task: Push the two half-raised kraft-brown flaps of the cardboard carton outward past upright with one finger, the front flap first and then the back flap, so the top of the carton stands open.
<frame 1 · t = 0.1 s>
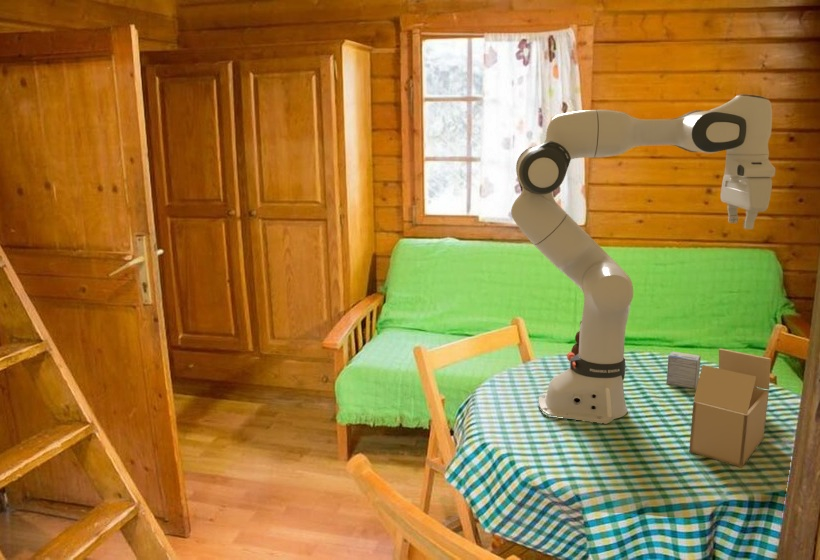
hand: (740, 225, 154), 48 cm above the table, tool pointing down, fingers open, 8 cm apart
back flap: (743, 368, 150), point 16 cm above the table, hinge at 75.0°
front flap: (724, 388, 140), point 16 cm above the table, hinge at 60.0°
medicine box: (682, 385, 183), on the table
carton: (726, 445, 148), on the table
food container: (739, 413, 165), on the table
wooden figurine: (582, 367, 198), on the table
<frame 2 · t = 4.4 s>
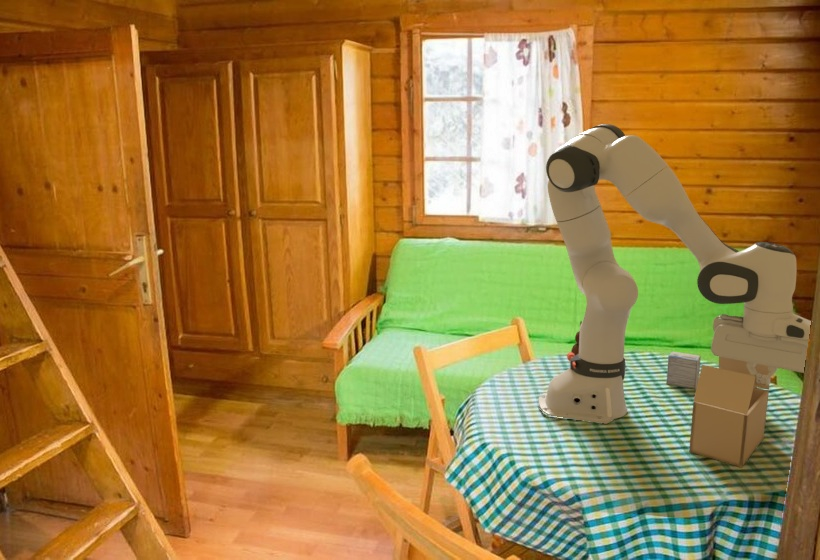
hand: (760, 383, 137), 18 cm above the table, tool pointing down, fingers closed
front flap: (724, 388, 140), point 16 cm above the table, hinge at 61.6°, touching gripper
everything else where it was.
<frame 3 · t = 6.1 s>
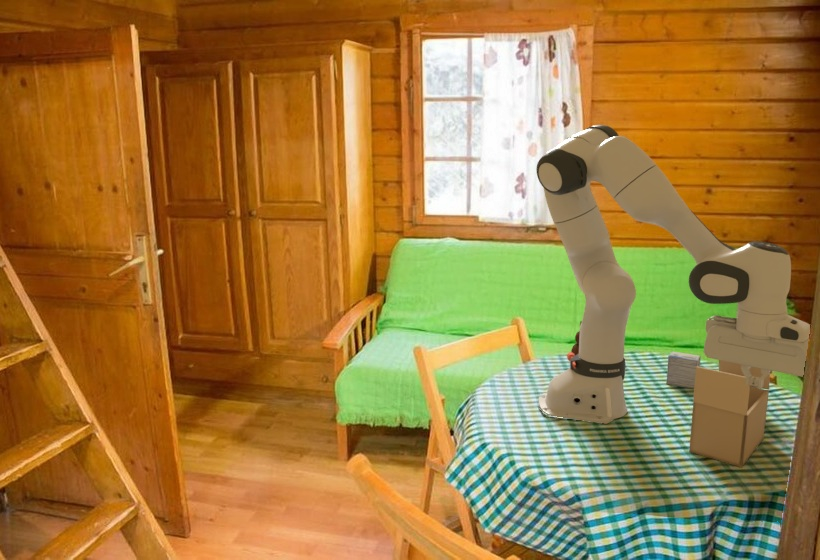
hand: (754, 386, 134), 19 cm above the table, tool pointing down, fingers closed
front flap: (721, 390, 138), point 16 cm above the table, hinge at 90.5°, touching gripper
everything else where it was.
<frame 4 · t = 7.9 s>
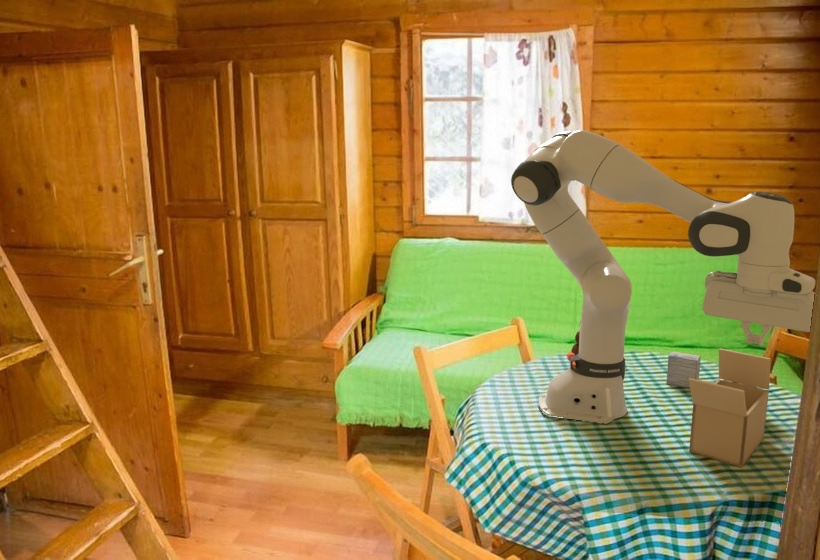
hand: (754, 343, 129), 29 cm above the table, tool pointing down, fingers closed
front flap: (717, 397, 137), point 16 cm above the table, hinge at 121.6°
everything else where it was.
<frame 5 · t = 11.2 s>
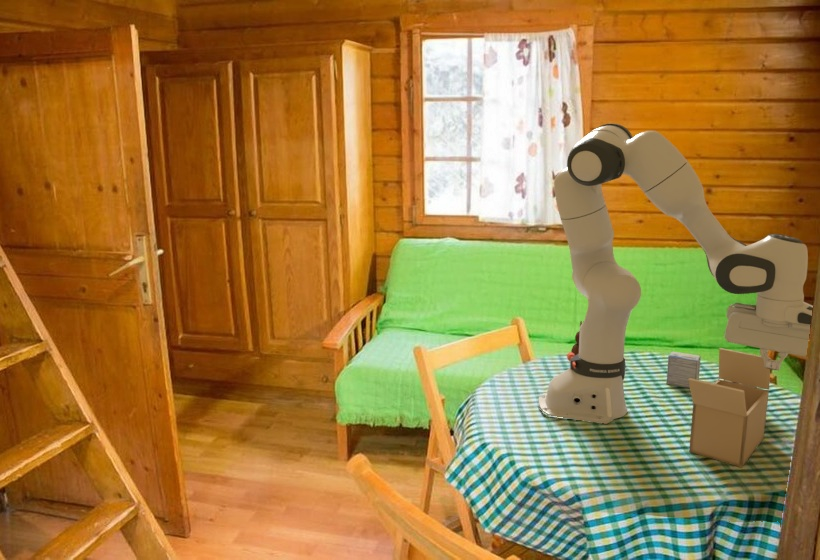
hand: (771, 368, 144), 18 cm above the table, tool pointing down, fingers closed
back flap: (743, 368, 150), point 16 cm above the table, hinge at 76.5°, touching gripper
front flap: (717, 397, 137), point 16 cm above the table, hinge at 121.9°
everything else where it was.
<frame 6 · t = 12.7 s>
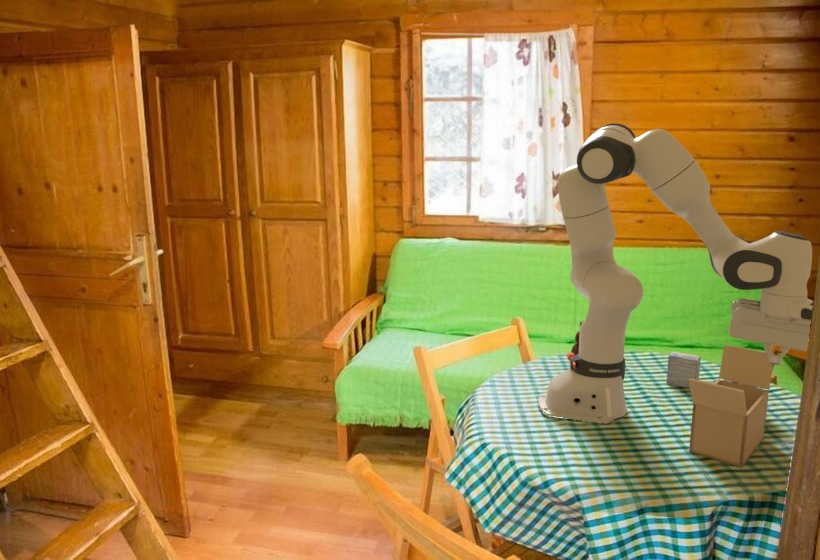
hand: (774, 363, 147), 18 cm above the table, tool pointing down, fingers closed
back flap: (746, 366, 152), point 16 cm above the table, hinge at 101.7°, touching gripper
everything else where it was.
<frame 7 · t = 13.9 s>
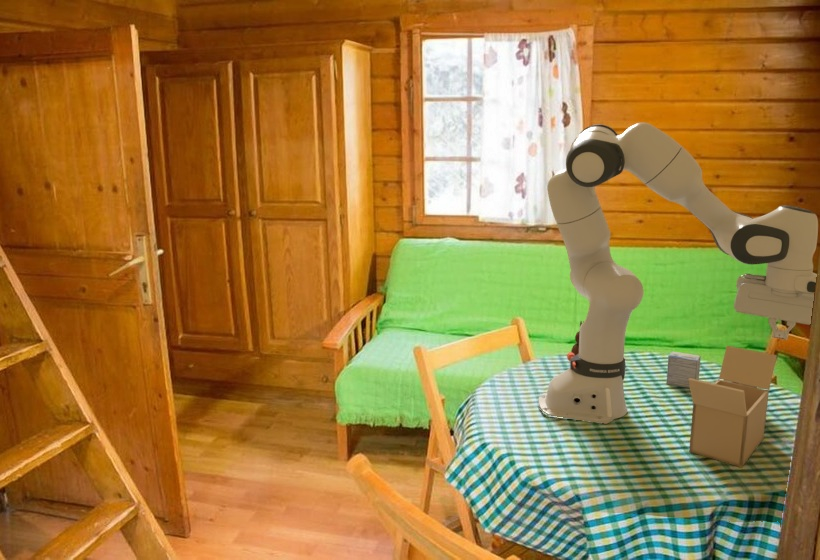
hand: (779, 338, 147), 24 cm above the table, tool pointing down, fingers closed
back flap: (747, 367, 153), point 16 cm above the table, hinge at 118.0°
everything else where it was.
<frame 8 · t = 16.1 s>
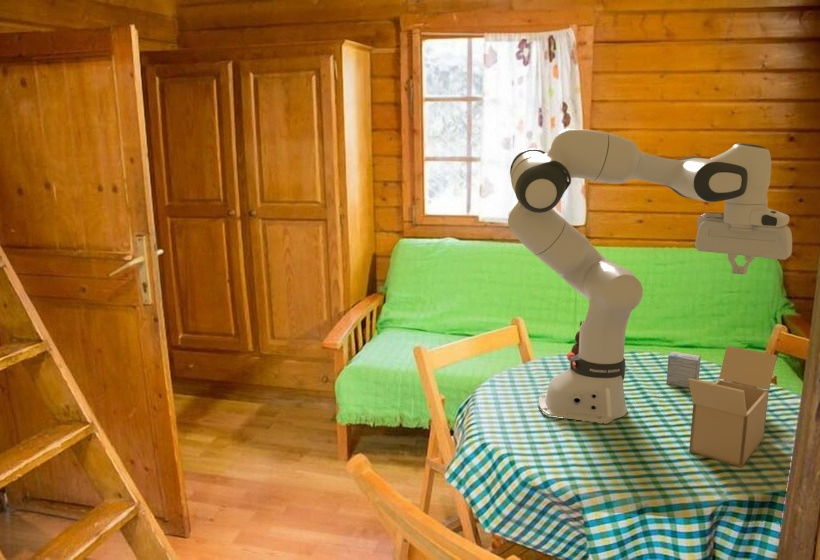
hand: (739, 273, 153), 37 cm above the table, tool pointing down, fingers closed
back flap: (747, 367, 153), point 16 cm above the table, hinge at 118.4°
everything else where it was.
at the end: front flap at +122° (first picture: +60°); back flap at +118° (first picture: +75°) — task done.
